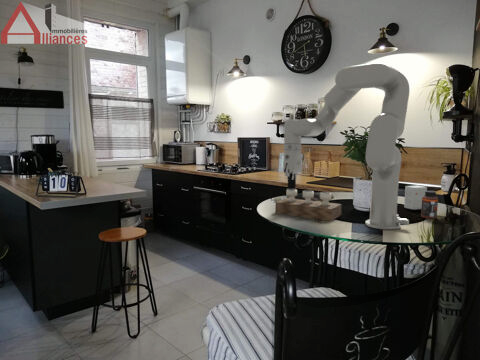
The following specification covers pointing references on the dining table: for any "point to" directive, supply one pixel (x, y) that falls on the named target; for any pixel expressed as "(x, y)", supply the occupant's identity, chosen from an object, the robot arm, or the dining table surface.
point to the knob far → (291, 194)
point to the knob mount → (308, 209)
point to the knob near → (325, 198)
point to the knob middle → (308, 196)
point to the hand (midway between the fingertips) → (291, 188)
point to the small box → (414, 196)
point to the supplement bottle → (429, 205)
